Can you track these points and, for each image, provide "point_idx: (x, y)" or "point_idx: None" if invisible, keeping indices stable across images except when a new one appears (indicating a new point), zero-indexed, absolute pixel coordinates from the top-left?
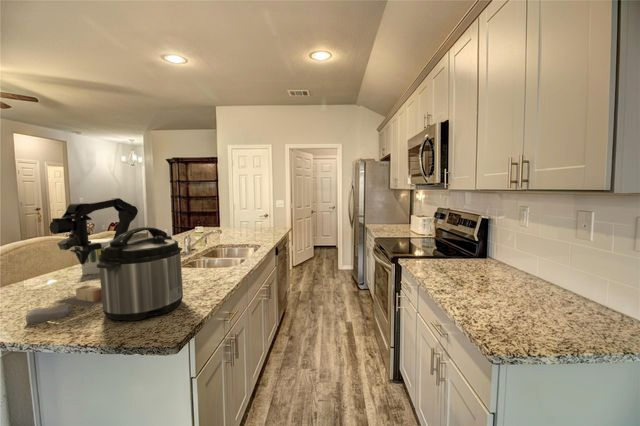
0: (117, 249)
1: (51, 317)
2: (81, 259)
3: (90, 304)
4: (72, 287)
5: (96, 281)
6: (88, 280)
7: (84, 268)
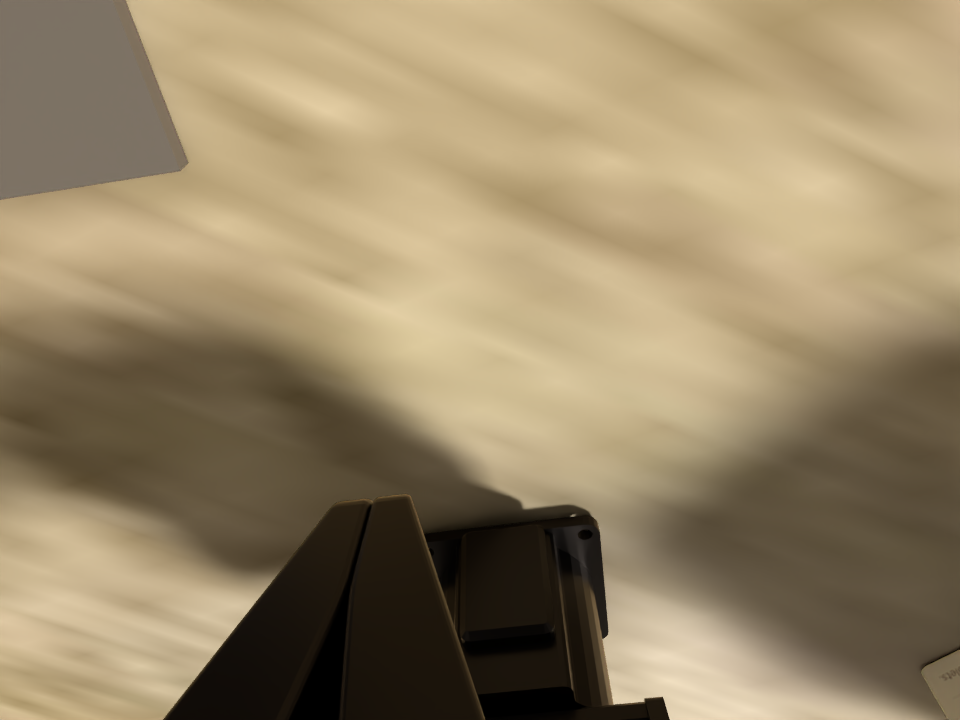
0: None
1: None
2: (190, 705)
3: None
4: (808, 124)
5: (713, 442)
6: (897, 421)
7: None
